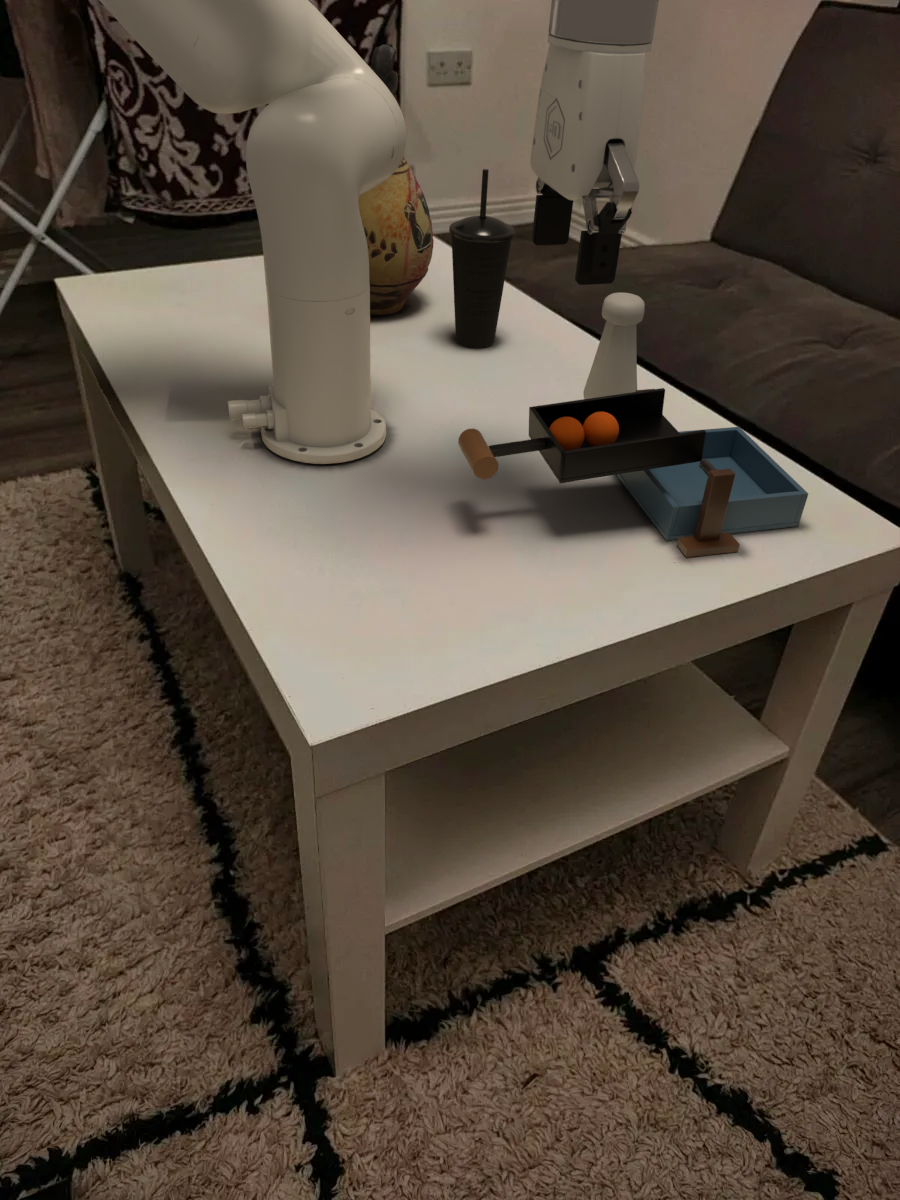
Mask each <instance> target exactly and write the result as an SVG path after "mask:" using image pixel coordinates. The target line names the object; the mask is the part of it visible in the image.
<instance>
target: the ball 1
mask: <svg viewBox="0 0 900 1200" xmlns="http://www.w3.org/2000/svg"><path fill="white" fill-rule="evenodd" d="M549 430H550V431H551V432H552V434H553V435H554V437H555V438H556V440H557V441H558V442H559V444H560V445H561V447H562V448H563V450H564V451H566V450H573V449H579V448H580V447H581V445H582V444H583V441H584V437H585V433H584V429H583V426H582V425H581V423H580V422H579V421H578V420H576V419H574V418H572V417H561V418H559V419H557V420H555V421H554V422H553V423H552V424H551V426H550V428H549Z"/></svg>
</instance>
